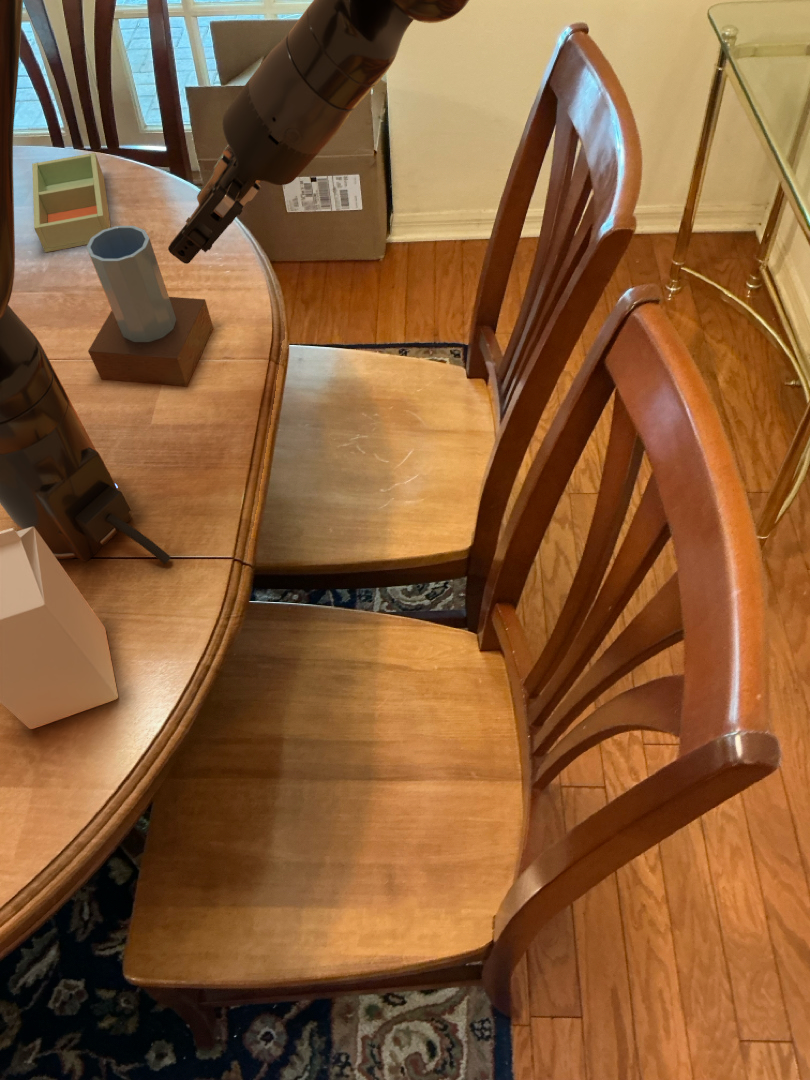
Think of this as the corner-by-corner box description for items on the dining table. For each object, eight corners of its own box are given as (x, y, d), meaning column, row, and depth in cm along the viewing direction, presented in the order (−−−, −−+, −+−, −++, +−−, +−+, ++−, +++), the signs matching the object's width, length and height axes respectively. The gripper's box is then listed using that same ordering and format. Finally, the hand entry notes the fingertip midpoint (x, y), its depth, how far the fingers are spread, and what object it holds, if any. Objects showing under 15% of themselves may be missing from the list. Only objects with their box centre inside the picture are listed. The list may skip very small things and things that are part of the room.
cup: (186, 318, 85) (161, 236, 77) (149, 349, 82) (117, 267, 74) (147, 300, 87) (117, 219, 79) (108, 330, 84) (74, 249, 76)
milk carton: (119, 699, 63) (18, 571, 47) (30, 731, 61) (-104, 609, 46) (106, 628, 67) (8, 489, 51) (22, 657, 65) (-105, 522, 50)
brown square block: (213, 327, 90) (205, 299, 87) (186, 386, 84) (177, 358, 81) (132, 321, 91) (121, 292, 88) (100, 379, 85) (87, 351, 82)
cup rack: (103, 176, 110) (95, 152, 107) (112, 239, 101) (103, 215, 98) (42, 187, 109) (32, 163, 106) (45, 252, 100) (34, 228, 97)
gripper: (274, 36, 65) (181, 162, 76) (227, 118, 57) (130, 246, 68) (341, 104, 69) (244, 214, 80) (306, 190, 61) (202, 300, 71)
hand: (192, 229), depth 74 cm, fingers open, 8 cm apart
